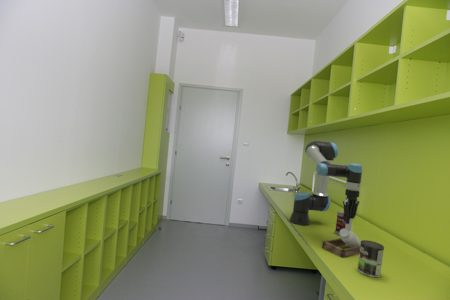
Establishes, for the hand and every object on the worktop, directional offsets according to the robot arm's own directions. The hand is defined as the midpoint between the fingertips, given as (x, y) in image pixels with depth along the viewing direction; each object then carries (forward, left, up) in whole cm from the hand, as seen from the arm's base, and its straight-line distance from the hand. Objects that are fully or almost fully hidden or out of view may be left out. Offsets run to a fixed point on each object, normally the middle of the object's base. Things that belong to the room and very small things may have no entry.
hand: (348, 228), depth 160 cm
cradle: (0, -2, -13) cm, 13 cm away
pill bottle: (0, +8, -10) cm, 13 cm away
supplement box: (-18, +23, -13) cm, 32 cm away
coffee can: (+23, -15, -13) cm, 30 cm away
